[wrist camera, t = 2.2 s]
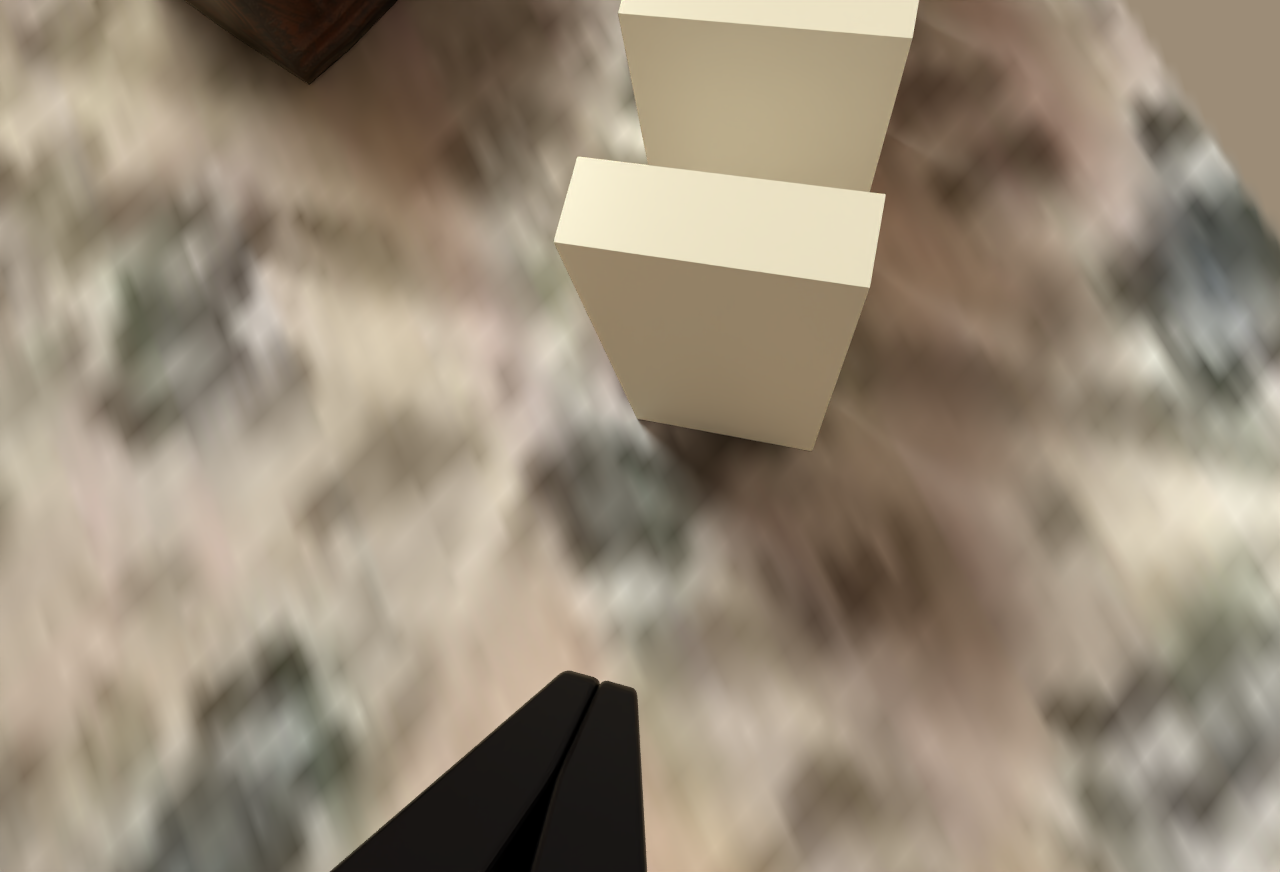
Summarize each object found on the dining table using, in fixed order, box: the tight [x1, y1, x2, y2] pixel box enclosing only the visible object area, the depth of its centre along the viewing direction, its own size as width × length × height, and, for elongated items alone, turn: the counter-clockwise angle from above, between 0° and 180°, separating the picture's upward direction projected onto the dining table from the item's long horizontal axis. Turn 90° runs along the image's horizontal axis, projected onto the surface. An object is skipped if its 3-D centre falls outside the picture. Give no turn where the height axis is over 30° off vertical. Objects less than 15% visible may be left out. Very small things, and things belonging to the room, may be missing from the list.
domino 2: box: [554, 157, 886, 451], centre depth 17 cm, size 2×5×10 cm, turn 77°
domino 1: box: [618, 0, 919, 192], centre depth 18 cm, size 2×5×10 cm, turn 77°
